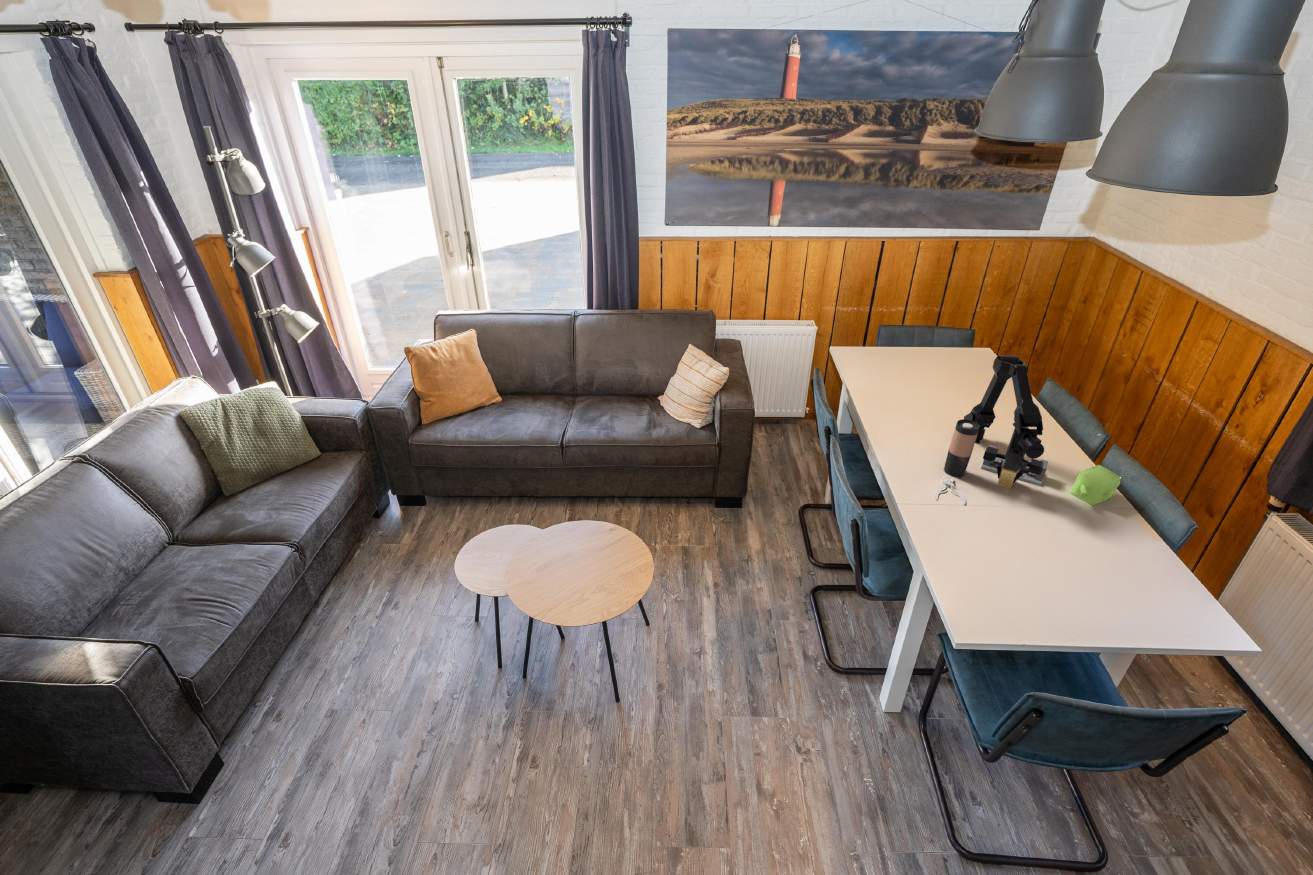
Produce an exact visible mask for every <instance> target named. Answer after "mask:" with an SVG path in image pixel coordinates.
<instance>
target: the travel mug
mask: <svg viewBox="0 0 1313 875" xmlns="http://www.w3.org/2000/svg"><path fill="white" fill-rule="evenodd" d="M979 427H980V426H979V424H977V423H976V422H974V421H971V420H966V419H964V418H962V419H959V420H957V421H956V425H955V429H954V431H953V434H952V438H951V441H950V444H949V447H948V451H947V455H946V459H945V462H944V467H943V471H944V472H945V473H946V474H947V475H948V476H950V477H953V478H954V477H955V478H961V477H963V476H964V475H965V473H966V471H967V469H968V465H969V463H970V459H971V458H972V454H973V450H974V447H975V441H976V438H977V434H978V431H979Z"/></svg>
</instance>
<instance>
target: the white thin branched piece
mask: <svg viewBox="0 0 1313 875" xmlns="http://www.w3.org/2000/svg"><path fill="white" fill-rule="evenodd" d="M941 480H942V483H943V486H941V487H938V488H937V489H936V490H935V493H934V500H936V501H938V499H939V495H940V494H945V493H947V492H948V490H946V489H947V488H950V493H951V494H952V495H954V496H956V497H958V498H960V500H961V501H962V504H963V506H966V498H965V497H964V495H963V494H962V493H961V491H959V490H958V489H956V486H955V484H954V477H953V476H950V479H949V480H948V479H947V477H946V475H943V476H942V477H941Z"/></svg>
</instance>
